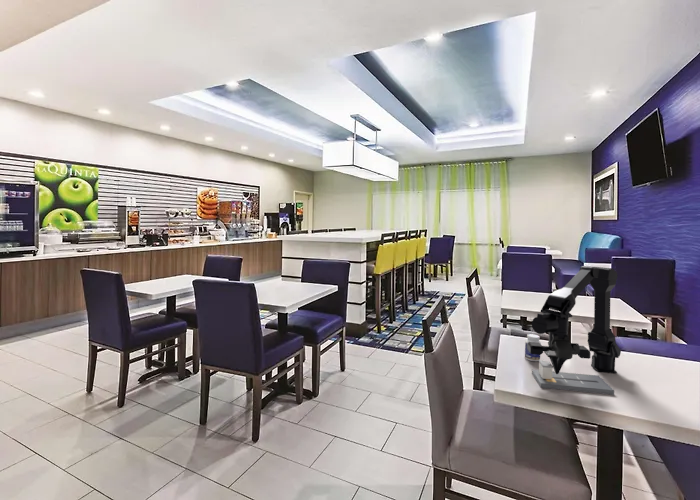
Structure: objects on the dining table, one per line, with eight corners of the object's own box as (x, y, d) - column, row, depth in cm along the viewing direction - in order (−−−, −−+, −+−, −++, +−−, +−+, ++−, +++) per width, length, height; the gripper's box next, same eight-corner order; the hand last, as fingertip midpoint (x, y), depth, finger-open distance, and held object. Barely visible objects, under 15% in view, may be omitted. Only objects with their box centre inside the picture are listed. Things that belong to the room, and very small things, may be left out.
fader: (547, 373, 130) (548, 360, 130) (552, 379, 125) (553, 366, 125) (538, 372, 131) (538, 360, 131) (542, 378, 126) (542, 365, 126)
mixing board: (598, 379, 130) (598, 375, 129) (614, 394, 118) (614, 390, 118) (531, 373, 135) (531, 369, 135) (540, 387, 123) (540, 382, 123)
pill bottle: (534, 362, 145) (535, 338, 145) (521, 358, 150) (522, 334, 150) (543, 360, 148) (544, 336, 147) (530, 355, 153) (531, 332, 152)
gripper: (535, 335, 120) (533, 380, 121) (598, 339, 116) (596, 386, 117) (527, 326, 131) (525, 367, 132) (584, 329, 127) (582, 372, 128)
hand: (556, 373), depth 127 cm, fingers closed
